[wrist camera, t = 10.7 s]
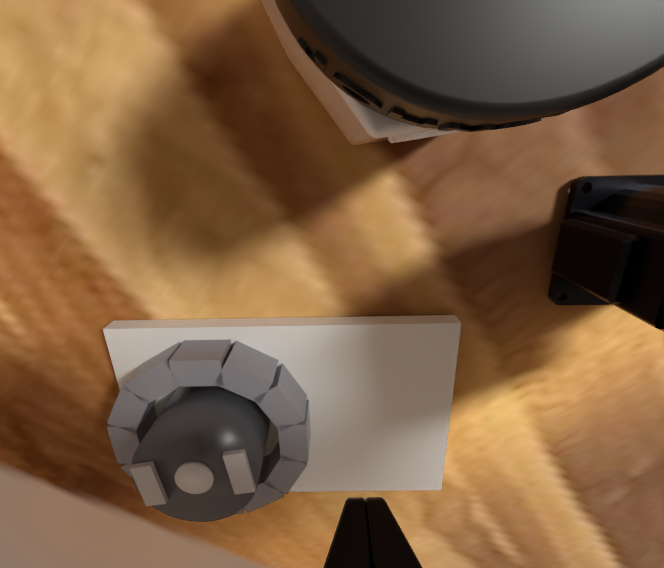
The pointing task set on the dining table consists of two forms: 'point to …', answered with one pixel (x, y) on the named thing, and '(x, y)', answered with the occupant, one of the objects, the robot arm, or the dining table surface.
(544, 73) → the jar
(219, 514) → the cap
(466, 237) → the dining table surface
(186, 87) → the dining table surface
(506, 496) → the dining table surface
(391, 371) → the plate
